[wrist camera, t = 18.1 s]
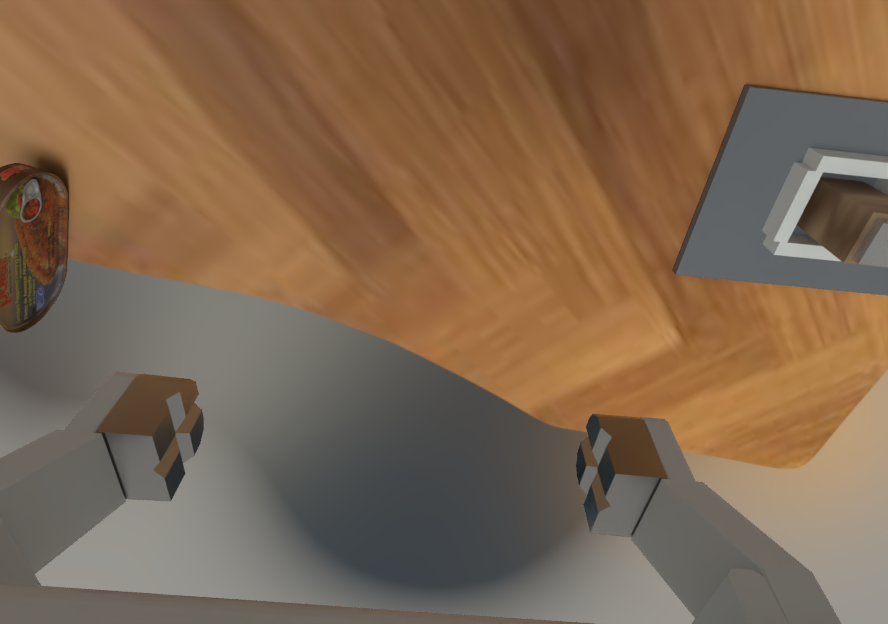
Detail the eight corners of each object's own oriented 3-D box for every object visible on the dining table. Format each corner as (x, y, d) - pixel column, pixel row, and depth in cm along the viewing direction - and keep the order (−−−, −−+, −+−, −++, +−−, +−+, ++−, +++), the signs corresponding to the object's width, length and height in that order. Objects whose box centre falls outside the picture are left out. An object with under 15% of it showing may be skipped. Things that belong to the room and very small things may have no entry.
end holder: (744, 84, 40) (762, 93, 38) (998, 113, 41) (1030, 123, 39) (672, 270, 49) (683, 286, 47) (882, 290, 50) (903, 307, 48)
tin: (66, 300, 52) (6, 354, 45) (31, 289, 51) (-35, 342, 44) (71, 159, 44) (0, 198, 37) (30, 144, 44) (-51, 181, 37)
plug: (815, 176, 43) (881, 217, 37) (863, 181, 43) (937, 223, 37) (792, 221, 46) (850, 268, 39) (837, 226, 46) (902, 273, 39)
